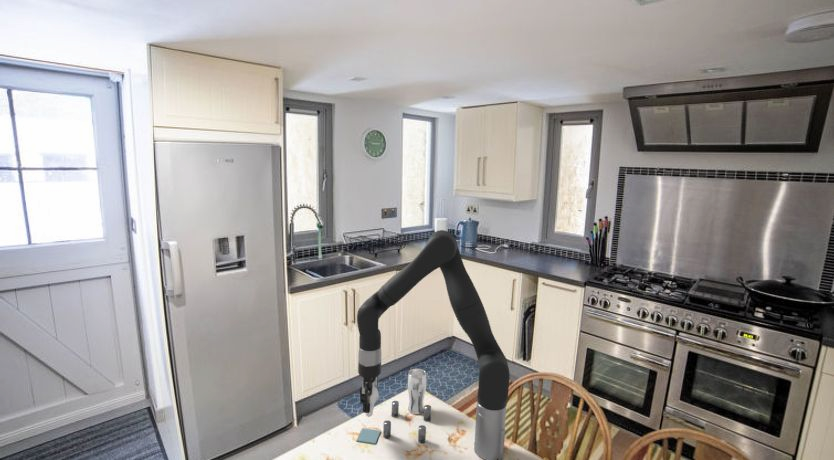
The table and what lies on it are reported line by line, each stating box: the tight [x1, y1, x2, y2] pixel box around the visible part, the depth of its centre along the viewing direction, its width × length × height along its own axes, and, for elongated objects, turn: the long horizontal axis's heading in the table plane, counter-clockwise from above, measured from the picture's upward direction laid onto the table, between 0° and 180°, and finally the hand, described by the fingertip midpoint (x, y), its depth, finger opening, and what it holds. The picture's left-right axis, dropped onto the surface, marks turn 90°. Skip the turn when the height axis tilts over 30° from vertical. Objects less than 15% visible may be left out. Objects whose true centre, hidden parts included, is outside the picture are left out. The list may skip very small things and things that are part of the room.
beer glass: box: [407, 368, 427, 415], centre depth 152 cm, size 7×7×15 cm
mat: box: [356, 427, 381, 445], centre depth 137 cm, size 6×6×1 cm
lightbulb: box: [364, 386, 379, 418], centre depth 135 cm, size 6×6×11 cm
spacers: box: [382, 400, 432, 445], centre depth 142 cm, size 14×14×5 cm
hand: (369, 406), depth 135 cm, fingers closed on lightbulb, 5 cm apart
